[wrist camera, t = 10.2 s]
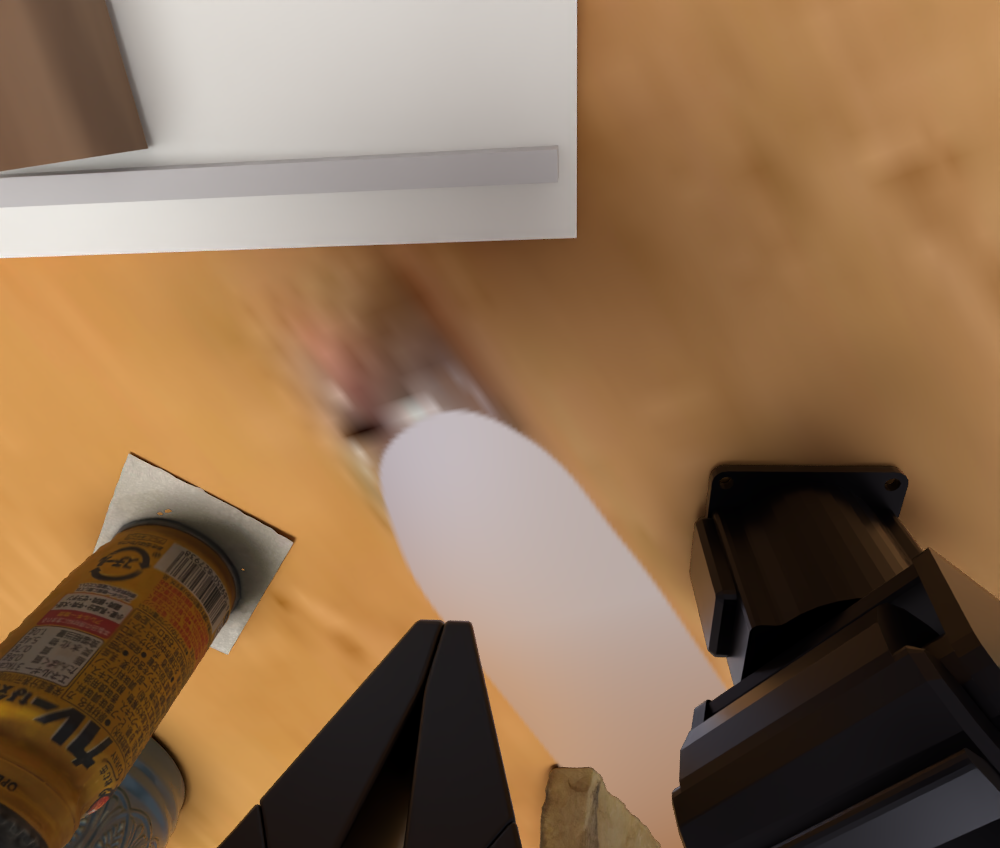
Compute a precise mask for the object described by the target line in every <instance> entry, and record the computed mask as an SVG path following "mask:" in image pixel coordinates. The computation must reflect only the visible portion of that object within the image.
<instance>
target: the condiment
mask: <svg viewBox="0 0 1000 848" xmlns="http://www.w3.org/2000/svg"><path fill="white" fill-rule="evenodd" d="M167 509H170V510H172V512H170V513H165V510H167ZM158 512H162V513H163V515H158V514H157V513H158ZM292 544H293V542H292V541H290V540H289V539H287V538H285V537H283V536H281V535H279V534H277V533H276V532H275V531H274V530H273V529H272V528H270V527H268V526H266V525H264V524H262V523H261V522H259V521H257V520H255V519H254V518H252V517H249V516H247V515H245V514H243V513H242V512H241V511H239V510H238V509H236V508H234V507H232V506H230V505H228V504H227V503H225V502H223V501H221V500H219V499H217V498H215V497H213V496H211V495H209V494H207V493H206V492H205V491H204V490H203V489H201V488H199V487H194V486H192V485H190V484H187V483H185V482H183V481H181V480H179V479H177V478H175V477H174V476H172V475H171V474H169V473H167V472H165V471H164V470H162V469H160V468H157V467H154V466H152V465H150V464H148V463H146V462H144V461H142V460H140V459H138V458H136V457H135V456H133V455H131V454H128V457H127V460H126V462H125V464H124V467H123V469H122V472H121V476H120V479H119V482H118V483H117V486H116V488H115V492H114V496H113V498H112V500H111V503H110V505H109V509H108V512H107V514H106V518H105V521H104V524H103V527H102V530H101V533H100V535H99V538H98V540H97V544H96V547H95V549H94V552H93V554H92V555H91V556H89V557H88V558H87V559H86V560H85V562H83V563H82V564H81V565H80V566H79V567H77V568H76V569H75V570H73V571H72V572H71V573H70V574H69V575H68V577H67V578H65V579H64V580H63V581H62V582H61V583H60V584H59V585H58V586H57V587H56V588H55V590H54V591H52V592H51V593H50V595H49V596H48V597H47V598H46V599H45V600H44V601H43V602H42V603H41V604H40V605H39V606H38V607H37V608H36V609H35V610H34V611H33V612H32V613H31V614H30V615H28V616H27V617H26V618H25V619H24V621H23V623H22V624H21V625H20V626H19V627H18V628H16V629H15V630H13V631H12V632H10V633H9V635H8V637H7V638H6V640H4V641H3V642H2V643H1V644H0V848H63V847H64V846H65V845H66V844H67V843H68V842H69V841H70V840H71V838H72V837H73V835H74V833H75V831H76V830H77V829H78V827H79V824H80V819H82V818H84V817H86V816H87V815H89V814H91V813H93V812H95V811H96V810H98V809H99V808H100V807H102V806H103V805H104V804H105V803H106V802H107V801H108V800H109V798H110V797H111V796H112V795H113V793H114V792H115V791H116V789H117V787H118V786H119V785H120V784H121V782H122V781H123V780H124V778H125V776H126V774H127V773H128V771H129V770H130V768H131V767H132V765H133V764H134V762H135V761H136V759H137V757H138V756H139V755H140V754H141V751H142V750H143V749H144V747H145V746H146V744H147V742H148V741H149V739H150V737H151V736H152V734H153V733H154V731H155V730H156V728H157V727H158V725H159V724H160V722H161V720H162V719H163V718H164V716H165V715H166V713H167V712H168V710H169V708H170V707H171V705H172V704H173V702H174V701H175V699H176V697H177V696H178V695H179V693H180V691H181V690H182V688H183V687H184V685H185V684H186V682H187V681H188V679H189V678H190V677H191V675H192V673H193V672H194V670H195V669H196V667H197V665H198V664H199V662H200V661H201V659H202V658H203V657H204V655H205V653H206V652H207V650H208V649H209V647H212V648H214V649H216V650H218V651H220V652H223V653H225V654H227V655H228V653H229V652H230V650H231V648H232V647H233V645H234V643H235V642H236V640H237V638H238V636H239V635H240V633H241V631H242V630H243V628H244V626H245V625H246V623H247V621H248V619H249V618H250V616H251V614H252V613H253V611H254V609H255V608H256V606H257V604H258V602H259V601H260V599H261V597H262V596H263V594H264V592H265V590H266V588H267V587H268V585H269V584H270V582H271V580H272V579H273V577H274V575H275V573H276V572H277V570H278V568H279V567H280V565H281V563H282V561H283V560H284V558H285V556H286V555H287V553H288V551H289V550H290V548H291V546H292ZM242 568H244V571H243V570H241V569H242Z"/></svg>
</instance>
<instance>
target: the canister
mask: <svg viewBox="0 0 1000 848" xmlns="http://www.w3.org/2000/svg"><path fill="white" fill-rule="evenodd" d="M184 798H185V785H184V781H183V778H182V775H181V773H180V771H179V769H178V767H177V765H176V764H175V762H174V761H173V759H172V758H171V756H170V755H169V754H168V753H167V752H166V751H165V749H164V748H163V747H162V746H161V745H160V744H159V743H158V742H157V741H156V740H154V739H153V738H152V737H150V739H149V741H148V742H147V744H146V746H145V747H144V749H143V750H142V751H141V754H140V755H139V756H138V757H137V759H136V761H135V762H134V764H133V765H132V767H131V768H130V770H129V771H128V773H127V774H126V776H125V778H124V780H123V781H122V782H121V784H120V785H119V786H118V787H117V789H116V791H115V792H114V793H113V795H112V796H111V797H110V798H109V800H108V801H107V802H106V803H105V804H104V805H103V806H102V807H100V808H99V809H98V810H96V811H95V812H93V813H91V814H89V815H87V816H86V817H84V818H82V819H80V824H79V827H78V829H77V830H76V831H75V833H74V835H73V837H72V838H71V840H70V841H69V842H68V843H67V844H66V845H65V846H64V847H63V848H165V847H166V845H167V843H168V840H169V838H170V836H171V835H172V833H173V832H174V830H175V827H176V824H177V821H178V814H179V812H180V809H181V807H182V805H183V802H184Z"/></svg>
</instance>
